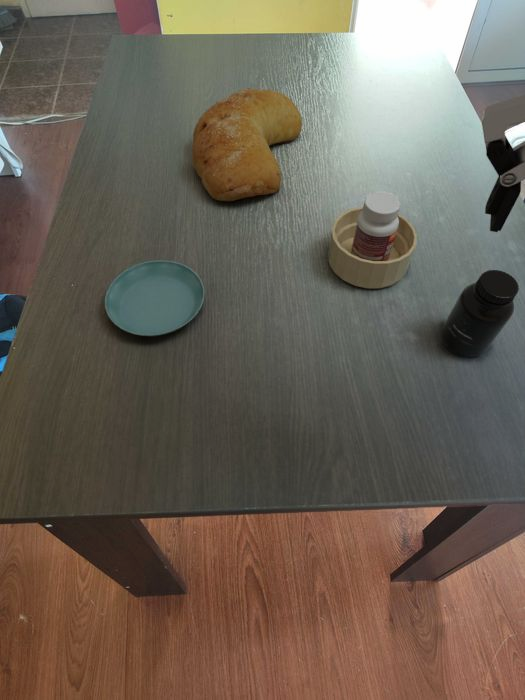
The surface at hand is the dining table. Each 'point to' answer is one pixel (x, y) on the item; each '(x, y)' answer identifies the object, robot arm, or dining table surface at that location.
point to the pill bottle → (376, 227)
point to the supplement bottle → (480, 313)
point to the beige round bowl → (367, 270)
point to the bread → (243, 143)
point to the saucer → (154, 298)
